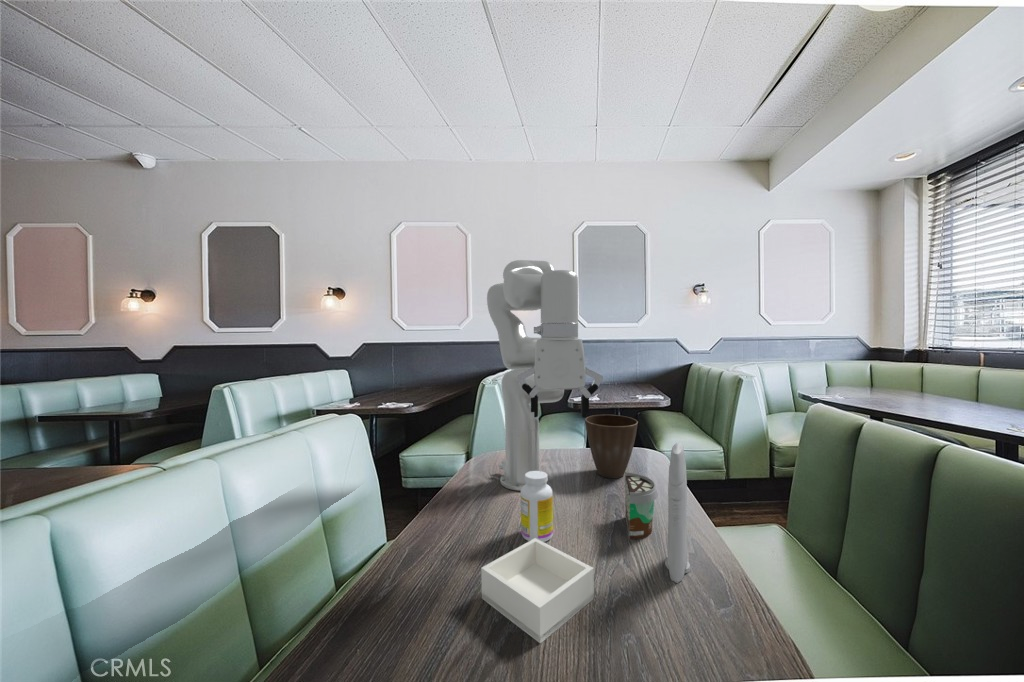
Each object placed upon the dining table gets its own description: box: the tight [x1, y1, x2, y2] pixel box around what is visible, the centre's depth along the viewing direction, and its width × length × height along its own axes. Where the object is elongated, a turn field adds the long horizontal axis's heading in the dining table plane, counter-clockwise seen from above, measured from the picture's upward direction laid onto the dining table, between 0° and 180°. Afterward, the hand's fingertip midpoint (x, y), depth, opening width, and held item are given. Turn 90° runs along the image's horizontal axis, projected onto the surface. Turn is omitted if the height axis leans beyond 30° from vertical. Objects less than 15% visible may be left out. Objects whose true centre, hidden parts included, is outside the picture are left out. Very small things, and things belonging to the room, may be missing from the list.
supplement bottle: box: [520, 470, 554, 543], centre depth 81 cm, size 7×7×13 cm
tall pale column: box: [664, 442, 691, 584], centre depth 70 cm, size 11×4×22 cm, turn 153°
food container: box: [624, 471, 659, 540], centre depth 83 cm, size 12×6×10 cm, turn 168°
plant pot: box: [584, 414, 639, 479], centre depth 115 cm, size 15×15×16 cm
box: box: [480, 538, 595, 644], centre depth 62 cm, size 13×13×5 cm
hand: (559, 416), depth 80 cm, fingers open, 9 cm apart
